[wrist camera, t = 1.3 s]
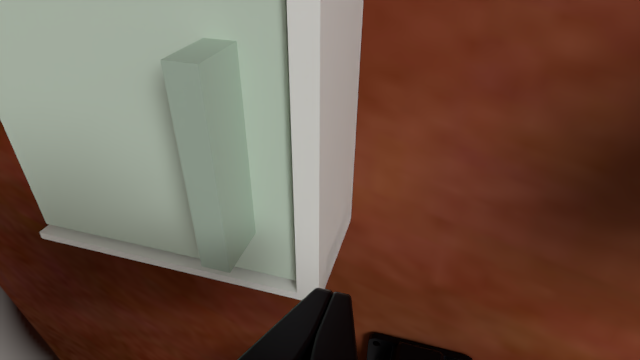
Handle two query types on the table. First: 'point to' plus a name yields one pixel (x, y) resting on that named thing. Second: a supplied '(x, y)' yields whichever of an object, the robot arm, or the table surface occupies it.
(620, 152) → the table surface
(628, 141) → the table surface
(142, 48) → the lid
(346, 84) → the box
